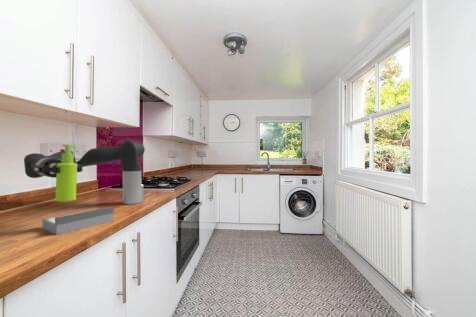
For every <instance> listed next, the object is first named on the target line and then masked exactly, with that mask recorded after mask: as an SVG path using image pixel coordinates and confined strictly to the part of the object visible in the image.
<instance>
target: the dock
mask: <svg viewBox="0 0 476 317" xmlns="http://www.w3.org/2000/svg"><path fill="white" fill-rule="evenodd" d="M113 221H114V206H108V207H101V208H97V209H92V210H87V211H82V212H75V213H69V214H65V215H59V216H55V217H54V216H53V217H49V218H44V219H42V221H41V223H42V224H41V225H42V229H43V230H46V231H47V232H49V233H52V234H54V235H57V236H58V235H61V234H66V233H69V232H73V231H74V232H75V231H77V230H81V229H85V228H89V227H90V228H91V227H93V226H98V225H101V224H106V223H109V222H113Z"/></svg>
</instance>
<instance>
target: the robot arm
mask: <svg viewBox="0 0 476 317" xmlns="http://www.w3.org/2000/svg"><path fill="white" fill-rule="evenodd" d="M145 150H146V148H145V146H144V145H143V143H141V142H138V141H133V140H125V141H124V142H122V144H121V145H119V146H101V147H94V148H91V149H89V150H88V151H86V152H85V153H84V154H83V155H82V156H81V158H80V159H78V160H76V157H75V156H74V159H73V163H76V164H77V173H81V172H83V168H85V167H90V166H91V167H92V166H97V165H103V164H108V163H111V162H112V163H113V162H117V161H120V165H121V168H122V204H124V205H135V204H140V203H142V202H144V184H142V183H143V182H142V180H143V179H142V170H143V169H142V165H141V164H140V163H139V162H138V159H139V158H141V157H142V156H143V155H144V153H145ZM64 153H65V150H62V151H58V152H55V153H52V154H49V155H46V154H42V153H36V152H35V153H34V152H33V153H29V154H27V155H25V156H24V157H23V163H24V164H23V165H24V172H25V175H26V176H27V177H28V178H32V179H38V178H43V177H48V178H53V179H54V178H56V175H57V173H60V167H57V164H58V163H62V154H64ZM71 153H72V154H74V152H73V151H72V150H71Z"/></svg>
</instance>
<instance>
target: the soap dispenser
mask: <svg viewBox="0 0 476 317" xmlns="http://www.w3.org/2000/svg"><path fill="white" fill-rule="evenodd" d="M62 147H64V148H65V149H64V151H65V153H64V154H62V163H58V164H57V167H60V173H57V175H56V180H55V200H54V201H55V202H73V201H75V200H77V187H78V185H77V184H78V183H77V182H78V181H77V180H78V172H77V164H76V163H73V159H74V157H75V153H73V154H72V153H71V151H72V148H79V146H78V145H75V144H62Z"/></svg>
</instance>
